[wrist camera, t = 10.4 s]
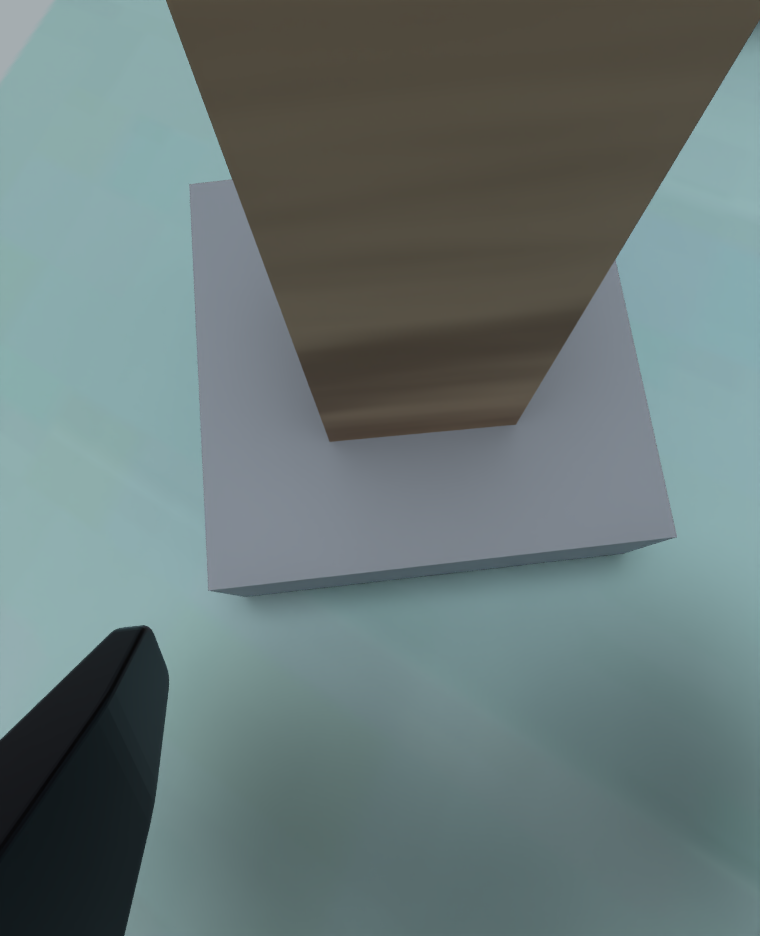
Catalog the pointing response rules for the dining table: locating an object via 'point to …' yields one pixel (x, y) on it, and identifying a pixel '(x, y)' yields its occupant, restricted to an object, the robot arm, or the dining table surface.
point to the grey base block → (404, 450)
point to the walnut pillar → (447, 178)
